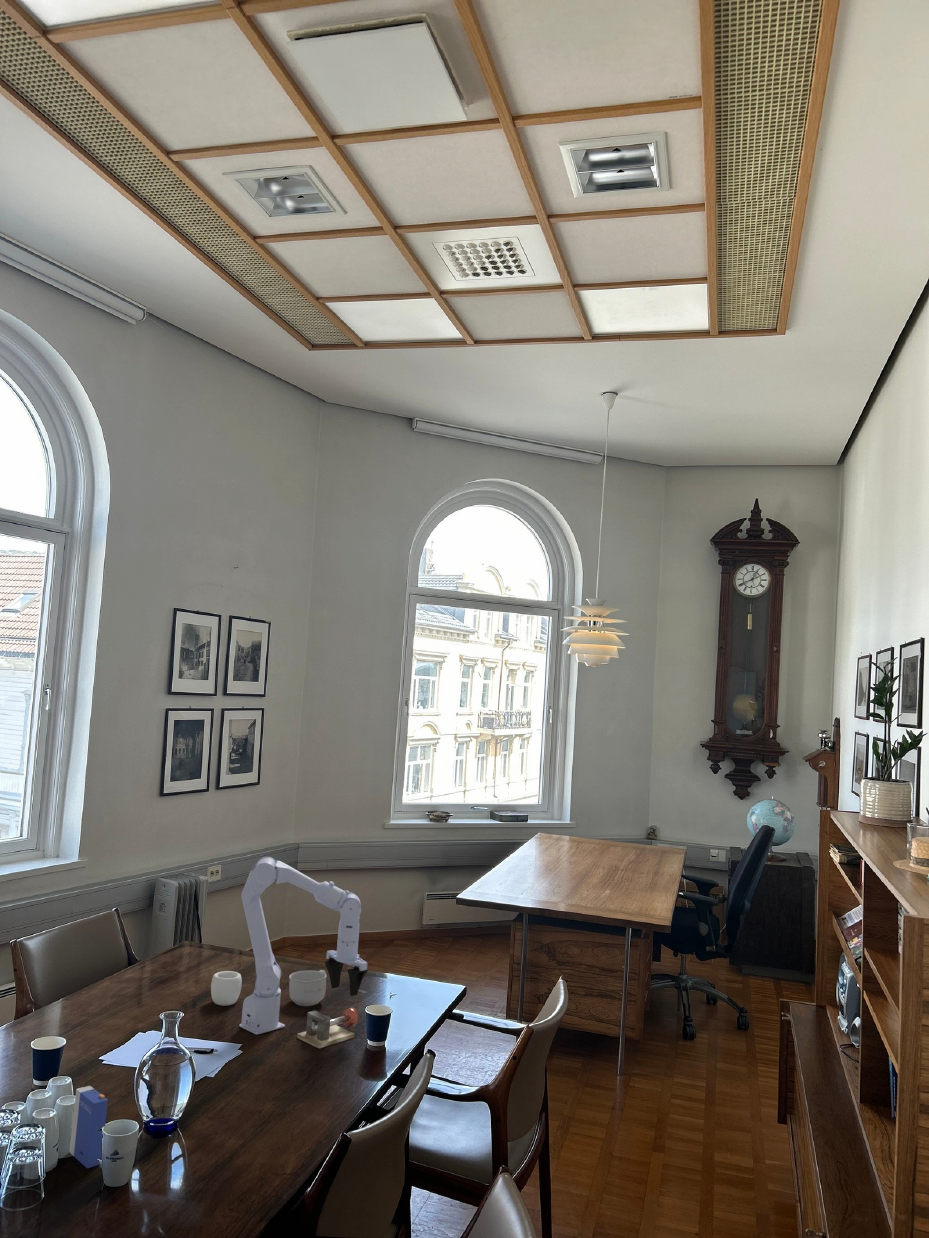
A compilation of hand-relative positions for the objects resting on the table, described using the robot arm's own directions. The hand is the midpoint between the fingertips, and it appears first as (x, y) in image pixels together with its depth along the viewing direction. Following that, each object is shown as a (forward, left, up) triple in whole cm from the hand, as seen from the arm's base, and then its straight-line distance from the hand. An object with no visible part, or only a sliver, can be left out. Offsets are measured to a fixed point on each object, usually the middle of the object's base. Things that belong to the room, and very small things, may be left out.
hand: (344, 991), depth 245 cm
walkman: (-82, -21, -10) cm, 85 cm away
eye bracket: (-9, -3, -10) cm, 13 cm away
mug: (-13, +36, -10) cm, 40 cm away
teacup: (+6, +21, -10) cm, 24 cm away
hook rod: (-5, -3, -9) cm, 11 cm away
